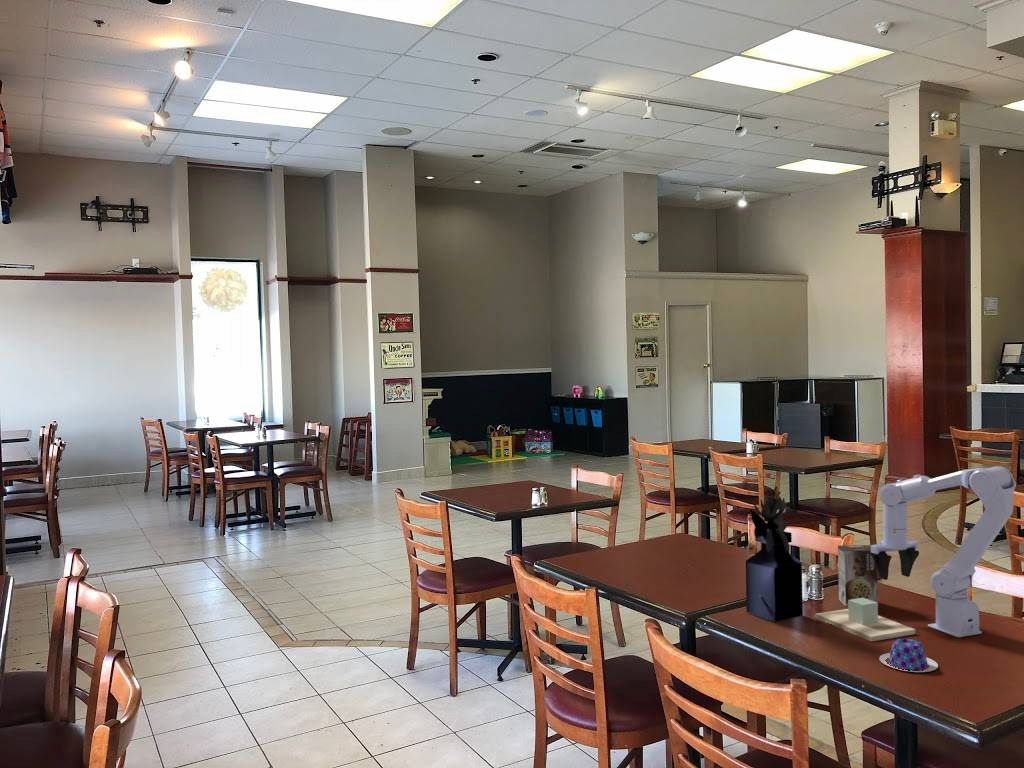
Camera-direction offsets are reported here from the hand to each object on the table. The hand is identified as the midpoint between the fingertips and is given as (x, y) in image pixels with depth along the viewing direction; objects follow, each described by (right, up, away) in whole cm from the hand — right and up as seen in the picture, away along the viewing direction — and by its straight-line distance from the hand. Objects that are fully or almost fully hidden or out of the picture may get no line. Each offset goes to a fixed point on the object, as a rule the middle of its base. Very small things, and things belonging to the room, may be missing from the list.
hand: (894, 577), depth 216 cm
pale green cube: (-12, -10, -7) cm, 17 cm away
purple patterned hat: (-13, -12, -34) cm, 39 cm away
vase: (-32, -11, +4) cm, 34 cm away
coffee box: (-5, -11, +12) cm, 17 cm away
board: (-12, -11, -8) cm, 18 cm away
